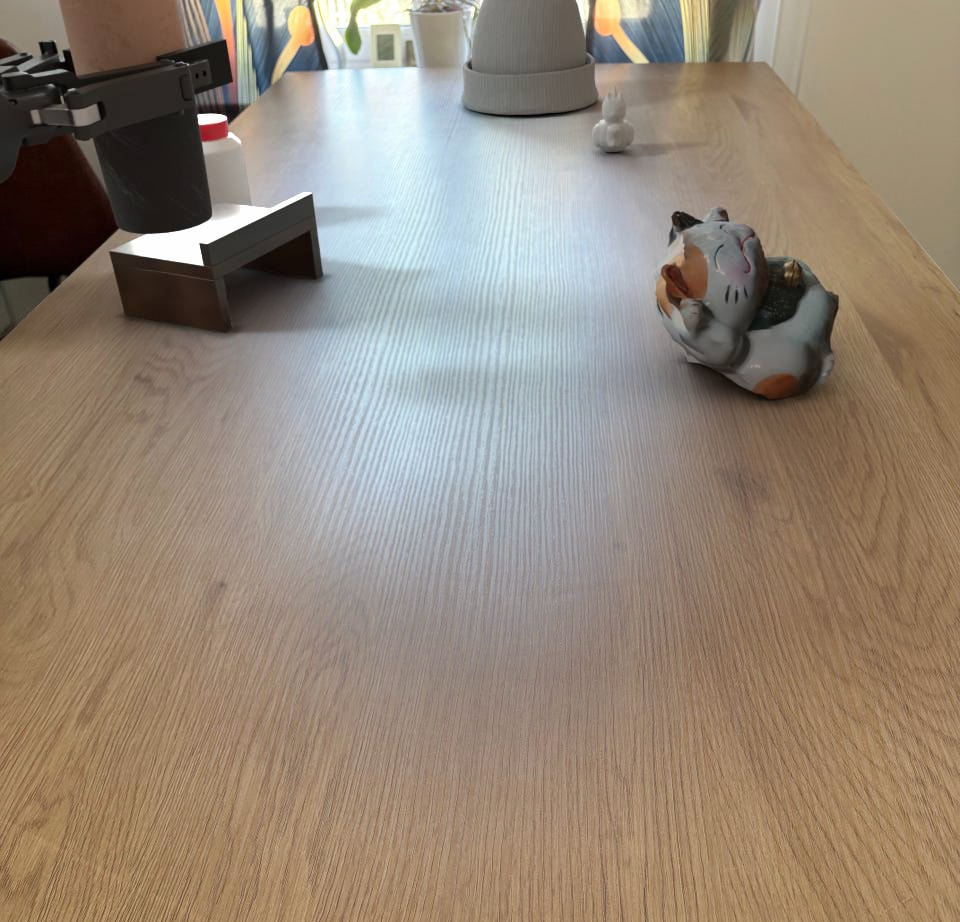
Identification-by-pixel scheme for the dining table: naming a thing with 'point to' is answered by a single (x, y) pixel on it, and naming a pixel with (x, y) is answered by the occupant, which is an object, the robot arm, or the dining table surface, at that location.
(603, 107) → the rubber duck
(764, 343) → the lucky cat figurine
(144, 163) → the travel mug
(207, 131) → the pill bottle
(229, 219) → the shelf
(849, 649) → the dining table surface
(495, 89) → the beanie hat
